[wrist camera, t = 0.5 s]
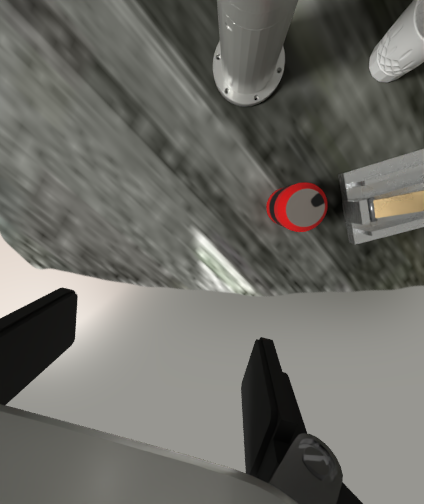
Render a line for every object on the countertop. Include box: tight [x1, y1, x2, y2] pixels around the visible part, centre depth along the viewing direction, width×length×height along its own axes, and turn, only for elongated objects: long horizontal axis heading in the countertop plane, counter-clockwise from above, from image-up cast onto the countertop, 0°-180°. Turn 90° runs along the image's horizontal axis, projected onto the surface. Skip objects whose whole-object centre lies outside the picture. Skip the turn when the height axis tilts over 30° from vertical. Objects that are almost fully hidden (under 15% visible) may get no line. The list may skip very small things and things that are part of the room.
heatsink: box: [338, 149, 424, 244], centre depth 36 cm, size 14×22×8 cm, turn 107°
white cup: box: [369, 0, 424, 83], centre depth 31 cm, size 8×8×10 cm
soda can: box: [267, 183, 327, 232], centre depth 37 cm, size 8×8×12 cm
